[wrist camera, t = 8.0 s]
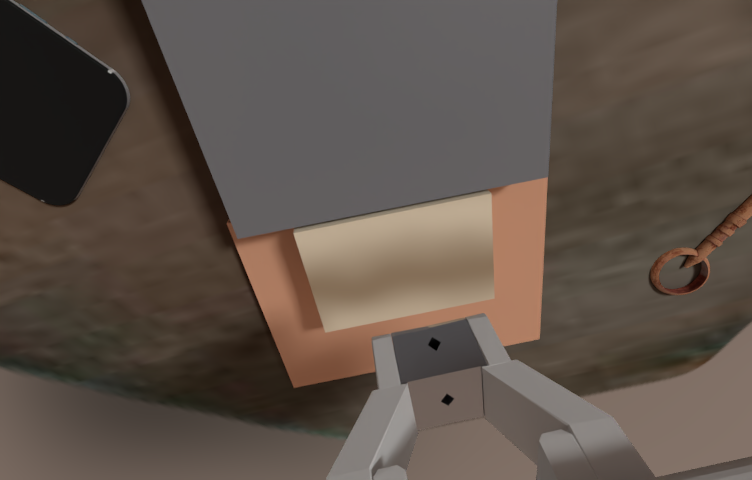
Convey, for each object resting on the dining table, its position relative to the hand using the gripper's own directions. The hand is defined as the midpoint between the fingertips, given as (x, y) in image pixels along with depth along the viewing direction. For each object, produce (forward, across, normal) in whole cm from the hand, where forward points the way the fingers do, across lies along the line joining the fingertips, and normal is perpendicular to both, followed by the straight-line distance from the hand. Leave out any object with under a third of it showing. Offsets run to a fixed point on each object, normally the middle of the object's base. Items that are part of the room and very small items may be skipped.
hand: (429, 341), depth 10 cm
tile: (+10, 0, +3) cm, 11 cm away
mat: (+10, 0, +6) cm, 12 cm away
